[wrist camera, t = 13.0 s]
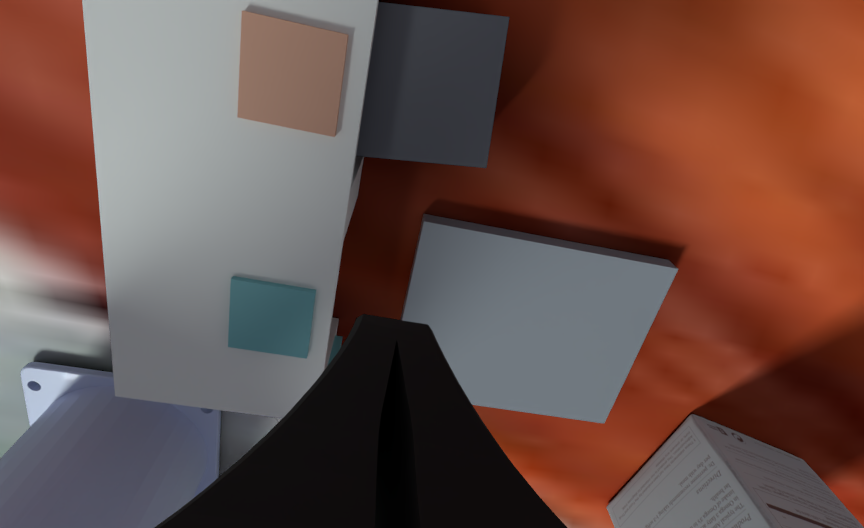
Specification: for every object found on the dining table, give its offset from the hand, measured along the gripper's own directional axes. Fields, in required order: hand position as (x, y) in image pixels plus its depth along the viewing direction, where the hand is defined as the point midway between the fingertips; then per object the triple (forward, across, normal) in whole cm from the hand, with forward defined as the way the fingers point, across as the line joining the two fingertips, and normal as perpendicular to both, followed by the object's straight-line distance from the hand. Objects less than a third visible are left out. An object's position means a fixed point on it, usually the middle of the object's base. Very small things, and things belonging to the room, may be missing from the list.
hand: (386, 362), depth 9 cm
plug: (+10, +2, -4) cm, 11 cm away
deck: (+10, -6, +4) cm, 12 cm away
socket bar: (+10, +5, 0) cm, 11 cm away
